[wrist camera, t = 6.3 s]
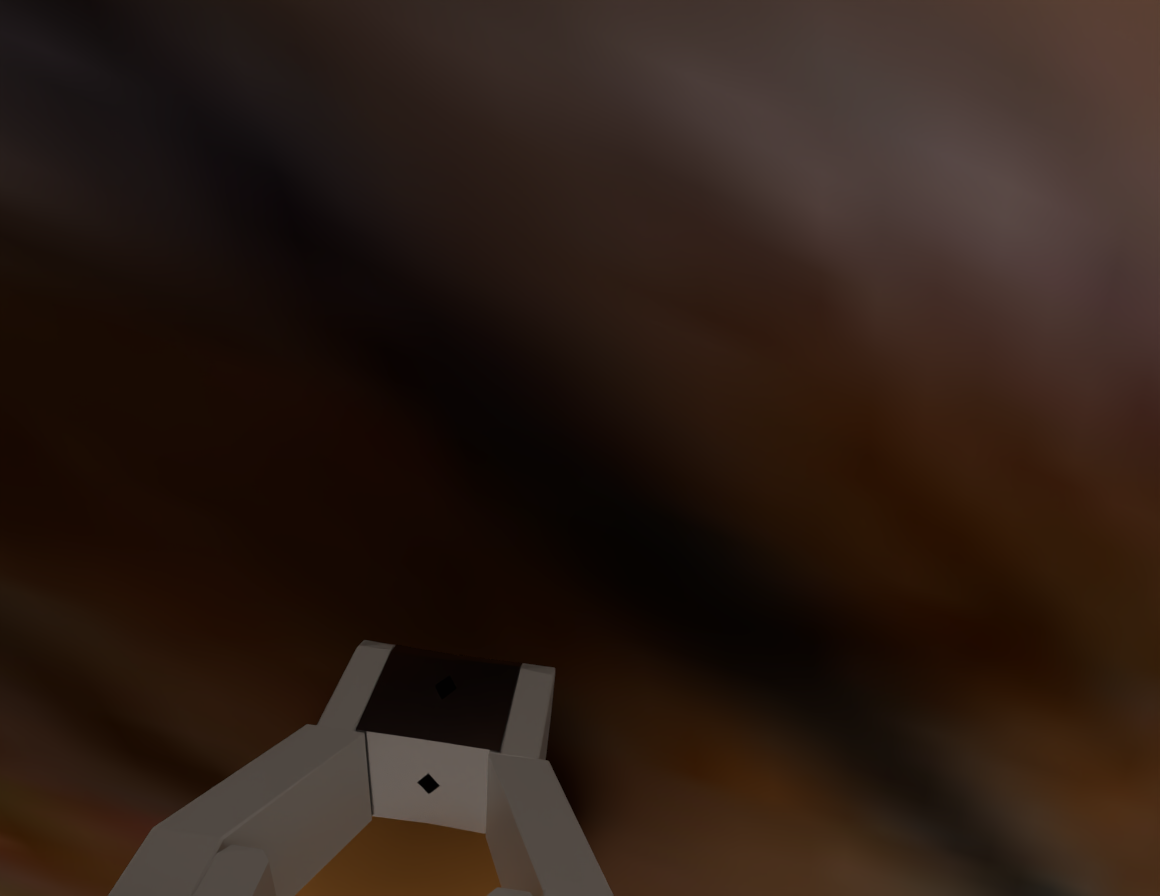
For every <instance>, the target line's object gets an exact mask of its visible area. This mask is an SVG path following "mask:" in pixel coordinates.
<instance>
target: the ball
mask: <svg viewBox="0 0 1160 896" xmlns="http://www.w3.org/2000/svg"><path fill="white" fill-rule="evenodd" d="M497 887H499V888H501V884H500V881H499V878H498V875H497V872H496V868H495V865H494V862H493V859H492V856H491V853H490V849H489V846H488V843H487V840H486V834H483V833H478V832H473V831H467V830H462V829H457V828H451V827H446V826H440V825H435V824H430V823H422V822H414V821H406V820H398V819H391V818H383V817H375V816H372V820H371V821H370V822H369V823H368V824H367V825H366V826H365V827H364V828H363V829H362V830H361V831H360V832H359V833H358V834H357V835H356V836H355V837H354V838H353V839H352V840H351V841H350V842H349V843H348V844H347V845H346V846H345V847H344V848H343V849H342V850H341V851H340V852H339V853H338V854H337V855H336V856H335V857H334V858H333V859H332V860H331V861H330V862H328V863H327V864H326V865H325V866H324V867H323V868H322V869H321V870H320V871H319V872H318V873H317V874H316V875H315V876H314V877H313V878H312V879H311V880H310V881H309V882H308V883H307V884H306V885H305V886H304V887H303V888H302V889H301V890H300V891H299V892H298V893H297V894H296V895H295V896H487V895H488V894H489V893H491V892H492V891H493V890H495V889H496V888H497Z"/></svg>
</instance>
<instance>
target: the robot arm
mask: <svg viewBox="0 0 1160 896" xmlns="http://www.w3.org/2000/svg"><path fill="white" fill-rule="evenodd" d="M554 681H555V668H554V667H547V666H540V665H532V664H525V663H523V664H522V663H520V662H512V661H504V660H497V659H489V658H482V657H474V656H467V655H454V654H449V653H443V652H437V651H431V650H425V649H419V648H414V647H408V646H402V645H393V644H387V643H381V642H375V641H369V640H364V641H363V642H362V643H361V644H360V645H359V646H358V647H357V648H356V650H355V652H354V654H353V656H352V658H351V660H350V661H349V663H348V665H347V667H346V669H345V671H344V673H343V675H342V677H341V679H340V681H339V683H338V685H337V687H336V689H335V691H334V693H333V695H332V696H331V698H330V700H329V702H328V704H327V706H326V708H325V710H324V712H323V714H322V716H321V718H320V720H319V722H318V724H317V725H310V724H306V725H305V726H303V727H302V728H300V729H299V730H298V731H296V732H295V733H293V734H292V735H290V736H289V737H287V738H286V739H284V740H283V741H281V742H280V743H278V744H277V745H275V746H274V747H272V748H271V749H269V750H268V751H266V752H265V753H263V754H262V755H260V756H259V757H257V758H256V759H254V760H253V761H251V762H250V763H248V764H247V765H246V766H244V767H243V768H241V769H240V770H238V771H237V772H235V773H234V774H232V775H231V776H229V777H228V778H226V779H225V780H223V781H222V782H220V783H219V784H217V785H216V786H214V787H213V788H211V789H210V790H208V791H207V792H205V793H204V794H202V795H201V796H199V797H198V798H196V799H195V800H194V801H192V802H191V803H189V804H188V805H186V806H185V807H183V808H182V809H180V810H179V811H177V812H176V813H174V814H173V815H171V816H170V817H168V818H167V819H165V820H164V821H162V822H161V823H159V824H158V825H156V826H155V827H153V828H152V830H151V831H150V833H149V834H148V836H147V837H146V839H145V840H144V842H143V843H142V845H141V846H140V848H139V849H138V851H137V852H136V854H135V855H134V857H133V858H132V860H131V861H130V863H129V865H128V866H127V868H126V869H125V871H124V872H123V874H122V875H121V877H120V878H119V880H118V881H117V883H116V884H115V886H114V887H113V889H112V890H111V892H110V893H109V895H108V896H295V895H296V894H297V893H298V892H299V891H300V890H301V889H302V888H303V887H304V886H305V885H306V884H307V883H308V882H309V881H310V880H311V879H312V878H313V877H314V876H315V875H316V874H317V873H318V872H319V871H320V870H321V869H322V868H323V867H324V866H325V865H326V864H327V863H328V862H330V861H331V860H332V859H333V858H334V857H335V856H336V855H337V854H338V853H339V852H340V851H341V850H342V849H343V848H344V847H345V846H346V845H347V844H348V843H349V842H350V841H351V840H352V839H353V838H354V837H355V836H356V835H357V834H358V833H359V832H360V831H361V830H362V829H363V828H364V827H365V826H366V825H367V824H368V823H369V822H370V821H371V820H372V816H375V817H383V818H391V819H398V820H406V821H414V822H422V823H430V824H435V825H440V826H446V827H451V828H457V829H462V830H467V831H473V832H478V833H483V834H486V840H487V843H488V846H489V849H490V853H491V856H492V859H493V862H494V865H495V868H496V872H497V875H498V878H499V881H500V884H501V888H499V887H497V888H496V889H495V890H493V891H492V892H491V893H489V894H488V895H487V896H613V894H612V891H611V889H610V887H609V885H608V883H607V881H606V879H605V877H604V875H603V873H602V871H601V869H600V866H599V864H598V862H597V860H596V858H595V856H594V854H593V852H592V850H591V848H590V846H589V844H588V842H587V839H586V837H585V835H584V833H583V831H582V829H581V827H580V825H579V823H578V821H577V819H576V817H575V814H574V812H573V810H572V808H571V806H570V804H569V802H568V800H567V798H566V796H565V794H564V792H563V789H562V787H561V785H560V783H559V781H558V779H557V777H556V775H555V773H554V771H553V769H552V767H551V764H550V762H549V761H547V760H545V759H546V753H547V744H548V736H549V728H550V720H551V710H552V701H553V691H554Z"/></svg>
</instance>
